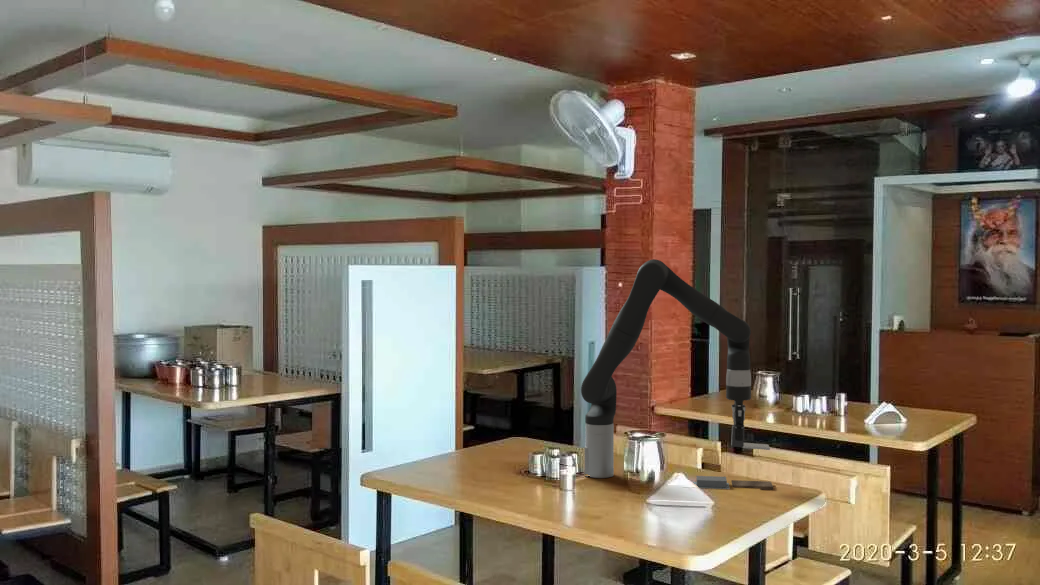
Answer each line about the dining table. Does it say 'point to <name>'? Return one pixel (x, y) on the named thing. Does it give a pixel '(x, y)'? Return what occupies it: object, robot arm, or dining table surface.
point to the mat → (714, 487)
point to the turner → (746, 445)
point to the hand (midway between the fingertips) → (738, 439)
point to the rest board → (752, 484)
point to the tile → (711, 481)
